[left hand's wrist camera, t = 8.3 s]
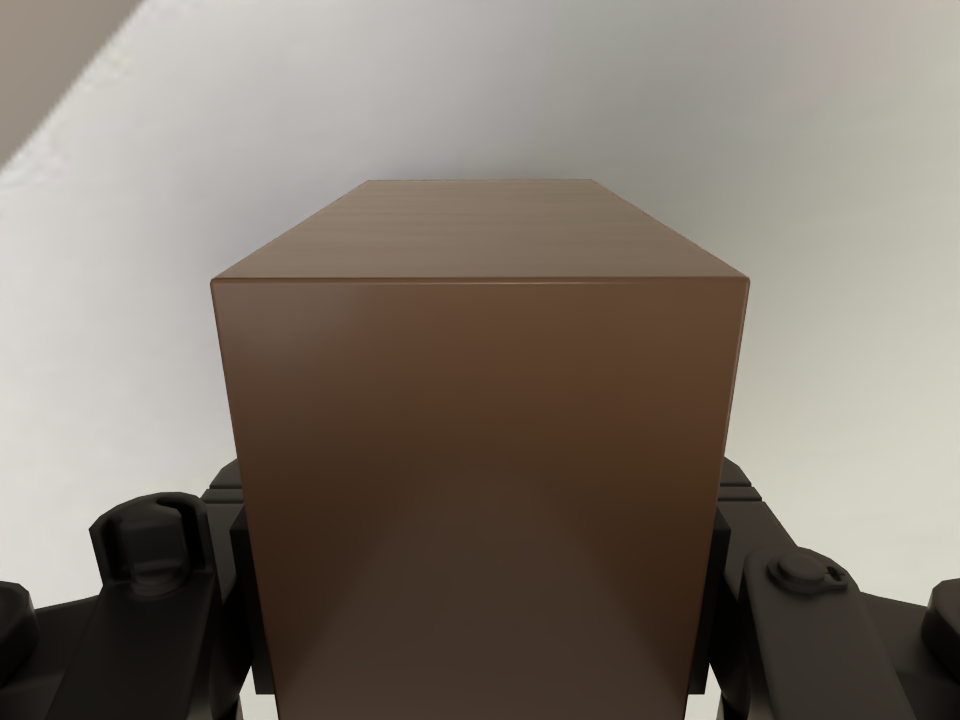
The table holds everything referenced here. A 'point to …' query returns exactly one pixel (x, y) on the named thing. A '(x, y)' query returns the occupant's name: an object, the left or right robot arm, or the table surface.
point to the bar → (480, 450)
